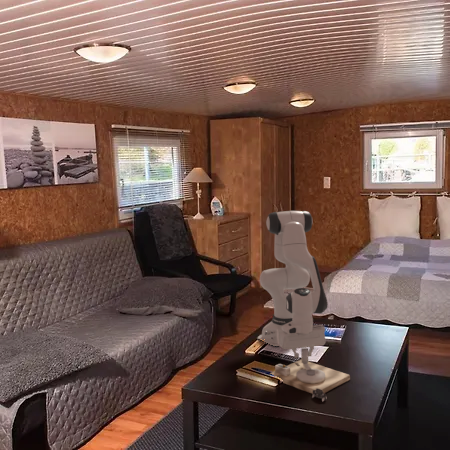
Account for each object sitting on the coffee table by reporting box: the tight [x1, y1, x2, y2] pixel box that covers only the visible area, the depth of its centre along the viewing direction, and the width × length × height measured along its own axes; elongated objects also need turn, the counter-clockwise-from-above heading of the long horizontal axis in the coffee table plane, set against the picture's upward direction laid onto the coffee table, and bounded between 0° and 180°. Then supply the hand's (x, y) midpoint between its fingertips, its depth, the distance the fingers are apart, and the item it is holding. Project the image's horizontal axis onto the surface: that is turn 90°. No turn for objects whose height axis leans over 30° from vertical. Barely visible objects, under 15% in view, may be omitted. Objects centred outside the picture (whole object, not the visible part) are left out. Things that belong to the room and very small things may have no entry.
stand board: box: [269, 359, 351, 394], centre depth 224 cm, size 26×22×6 cm
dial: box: [296, 347, 325, 384], centre depth 223 cm, size 20×12×9 cm, turn 6°
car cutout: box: [311, 388, 327, 403], centre depth 203 cm, size 15×7×4 cm, turn 47°
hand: (302, 356), depth 229 cm, fingers open, 4 cm apart
